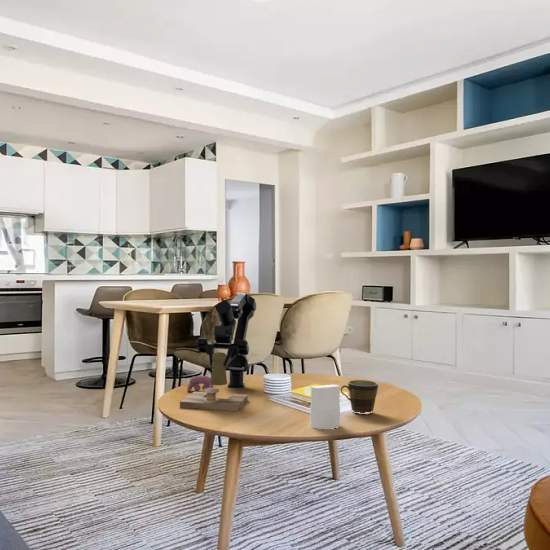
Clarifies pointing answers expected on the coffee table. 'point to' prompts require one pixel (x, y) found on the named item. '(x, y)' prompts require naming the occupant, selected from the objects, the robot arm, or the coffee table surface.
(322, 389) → the upright rounded white block
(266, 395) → the coffee table surface
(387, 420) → the coffee table surface
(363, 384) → the ceramic cup
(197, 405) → the notched board
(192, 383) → the purple toy elephant
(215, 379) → the olive bulb shape
